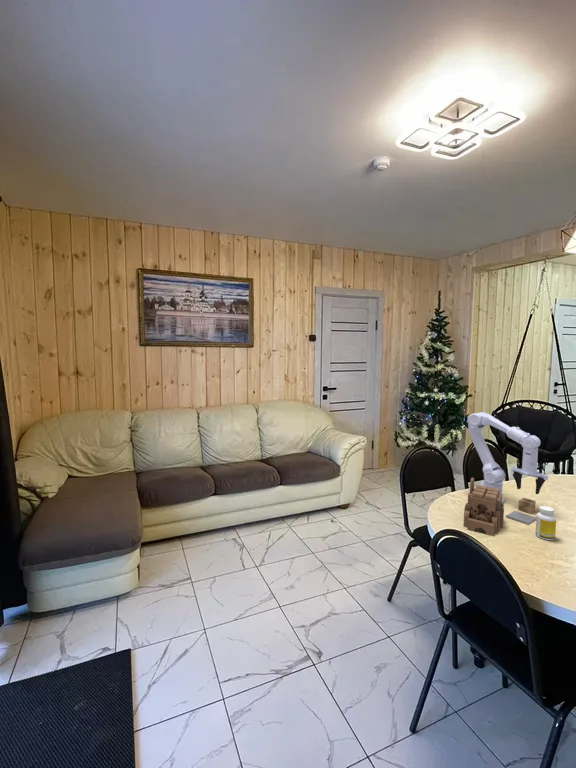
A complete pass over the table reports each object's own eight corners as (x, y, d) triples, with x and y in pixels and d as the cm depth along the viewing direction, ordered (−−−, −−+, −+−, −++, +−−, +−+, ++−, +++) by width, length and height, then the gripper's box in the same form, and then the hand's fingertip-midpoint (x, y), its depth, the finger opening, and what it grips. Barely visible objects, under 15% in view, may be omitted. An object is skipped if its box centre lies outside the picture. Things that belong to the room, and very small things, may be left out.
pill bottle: (558, 541, 146) (560, 512, 145) (539, 539, 147) (541, 511, 146) (550, 534, 152) (552, 505, 151) (532, 532, 153) (534, 504, 152)
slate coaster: (505, 517, 167) (505, 515, 167) (514, 512, 173) (514, 510, 173) (528, 524, 160) (528, 522, 160) (536, 519, 165) (536, 517, 165)
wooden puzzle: (499, 537, 149) (502, 491, 147) (459, 527, 157) (461, 483, 156) (505, 518, 166) (507, 477, 165) (469, 510, 175) (471, 470, 173)
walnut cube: (518, 510, 175) (519, 500, 175) (523, 508, 178) (523, 497, 178) (530, 514, 171) (531, 503, 171) (534, 511, 174) (535, 501, 174)
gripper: (508, 459, 176) (507, 488, 177) (544, 467, 165) (542, 497, 166) (515, 457, 180) (514, 485, 181) (550, 464, 169) (548, 494, 170)
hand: (528, 491), depth 174 cm, fingers open, 7 cm apart
